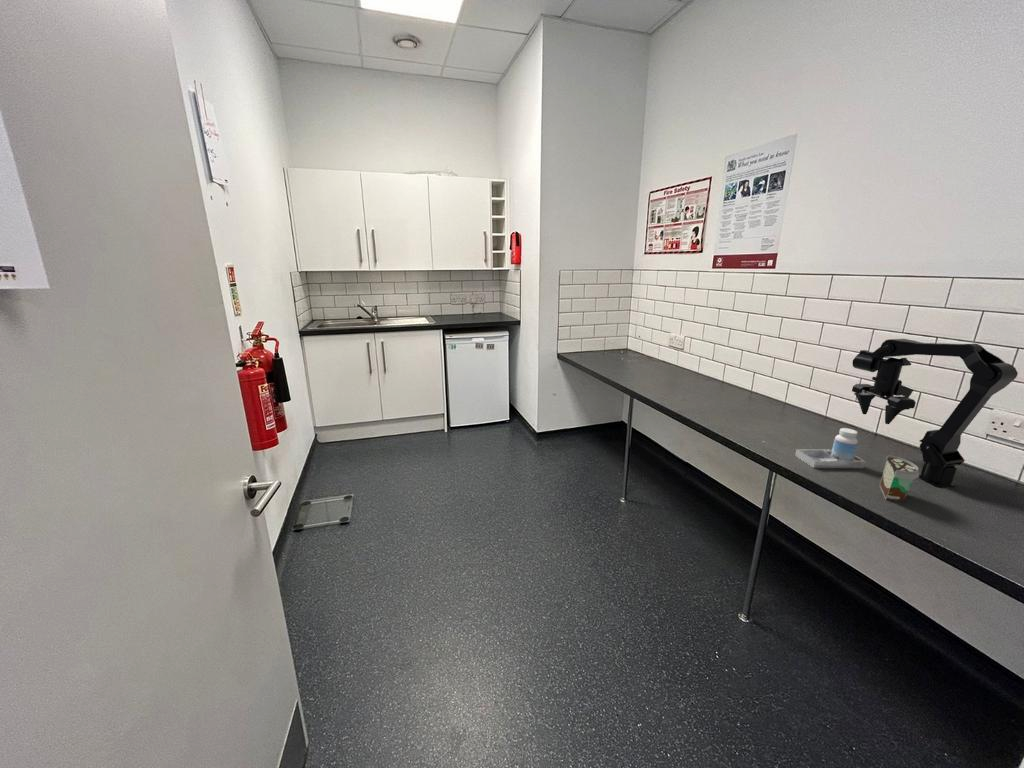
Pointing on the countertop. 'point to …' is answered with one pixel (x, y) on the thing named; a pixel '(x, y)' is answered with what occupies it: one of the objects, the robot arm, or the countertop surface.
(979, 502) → the countertop surface
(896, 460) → the food container
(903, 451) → the countertop surface
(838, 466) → the grey tray
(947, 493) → the countertop surface
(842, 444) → the pill bottle
